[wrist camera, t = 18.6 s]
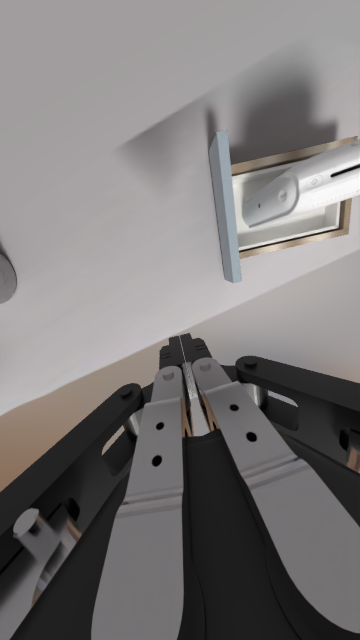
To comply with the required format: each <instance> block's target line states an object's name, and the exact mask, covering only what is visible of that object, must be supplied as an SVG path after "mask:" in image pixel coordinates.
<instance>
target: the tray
mask: <svg viewBox="0 0 360 640" xmlns="http://www.w3.org/2000/svg"><path fill="white" fill-rule="evenodd" d="M209 157H210V165H211V173H212V181H213V189H214V197H215V205H216V213H217V220H218V228H219V236H220V244H221V252H222V260H223V268H224V276H225V280H227V281H230V282H232V283H235V282H240V281H242V278H241V268H240V257H239V250H243V249H248V248H252V247H256V246H261V245H265V244H270V243H274V242H279V241H283V240H287V239H292V238H296V237H301V236H305V235H309V234H314V233H318V232H323V231H327V230H331V229H336V228H338V227H339V214H340V202H337V203H334V204H331V205H328V206H325V207H322V208H319V209H316V210H313V211H310V212H308V213H305V214H302V215H299V216H296V217H293V218H289V219H286V220H283V221H279V222H276V223H273V224H269V225H266V226H262V227H258V228H249V226H247V225H246V224H245V222H244V220H243V215H242V213H243V208H244V206H245V201H246V200H247V199H249V198H250V197H251V196H253V195H254V194H256V193H257V192H258V191H260V190H261V189H263V188H264V187H265V186H267V185H268V184H269V183H271V182H272V181H274V180H275V179H276V178H278V177H279V176H280V175H282V174H283V173H285V172H286V171H287V170H289V169H290V168H292V167H294V166H296V165H297V164H299V163H301V162H303V161H305V160H302V161H298V162H294V163H289V164H285V165H281V166H276V167H272V168H267V169H263V170H259V171H254V172H250V173H246V174H241V175H237V176H232V174H231V163H230V153H229V142H228V132H227V129H226V130H222V131H218V132H216V135H215V137H214V140H213V142H212V145H211V147H210V150H209Z"/></svg>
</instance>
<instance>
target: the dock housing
mask: <svg viewBox="0 0 360 640" xmlns="http://www.w3.org/2000/svg"><path fill="white" fill-rule="evenodd" d="M357 137H358V136H355V137H351V138H347V139H342V140H338V141H334V142H329V143H325V144H320V145H316V146H312V147H307V148H303V149H299V150H294V151H290V152H286V153H281V154H277V155H272V156H268V157H264V158H259V159H255V160H251V161H246V162H242V163H238V164H233V165H231V174H232V176H237V175H241V174H246V173H250V172H254V171H259V170H263V169H267V168H272V167H276V166H281V165H285V164H289V163H294V162H298V161H302V160H307V159H309V158H311V157H313V156H316V155H318V154H321V153H323V152H326V151H328V150H331V149H333V148H336V147H339V146H342V145H344V144H347V143H351V142H354V141H357ZM351 201H352V198H349V199H346V200H343V201H340V214H339V227H338V228H336V229H331V230H327V231H323V233H319V234H314V235H310V236H305V237H301V238H296V239H292V240H288V241H283V242H279V243H274V244H270V245H266V246H261V247H257V248H252V249H248V250H244V251H239V257H240V259H241V258H245V257H250V256H254V255H258V254H263V253H267V252H272V251H276V250H280V249H285V248H289V247H294V246H298V245H302V244H307V243H311V242H316V241H320V240H325V239H329V238H333V237H338V236H342V235H347V234H348V233H349V223H350V212H351Z"/></svg>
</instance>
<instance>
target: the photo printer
mask: <svg viewBox="0 0 360 640" xmlns="http://www.w3.org/2000/svg"><path fill="white" fill-rule="evenodd" d="M357 195H360V140H357V141H354V142H351V143H347V144H344V145H342V146H339V147H336V148H333V149H331V150H328V151H326V152H323V153H321V154H318V155H316V156H313V157H311V158H309V159H307V160H305V161H303V162H301V163H299V164H297V165H296V166H294V167H292V168H290V169H289V170H287V171H286V172H285V173H283V174H282V175H280V176H279V177H278V178H276V179H275V180H274V181H272V182H271V183H269V184H268V185H267V186H265V187H264V188H263V189H261V190H260V191H258V192H257V193H256V194H254V195H253V196H251V197H250V198H249V199H247V200H246V201H245V206H244V208H243V213H242V215H243V220H244V222H245V224H246V225H247V226H249V228H258V227H262V226H266V225H269V224H273V223H276V222H279V221H283V220H286V219H289V218H293V217H296V216H299V215H302V214H305V213H308V212H310V211H313V210H316V209H319V208H322V207H325V206H328V205H331V204H334V203H337V202H340V201H343V200H346V199H349V198H352V197H354V196H357Z"/></svg>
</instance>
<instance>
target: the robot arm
mask: <svg viewBox="0 0 360 640" xmlns="http://www.w3.org/2000/svg"><path fill="white" fill-rule="evenodd" d="M15 289H16V276H15V273H14V270H13V268H12V266H11V265H10V263H9V261H8V260H7V259H6V258H5V257H4V256H3V255H2V254H1V253H0V304H1V303H3V302H6V301H7V300H9V299H10V298H11V297H12V295H13V294H14V292H15ZM180 339H181V343H182V347H183V351H184V355H183V351H182V347H181V343H180ZM184 356H185V360H186V364H187V368H188V372H189V377H190V380H191V385H192V389H193V393H194V397H195V398H196V397H198V398H199V402H200V406H201V410H202V413H203V416H204V419H205V421H206V424H207V427H208V429H209V433H208V434H206V435H204V436H194V431H193V422H192V412H191V408H190V407H191V402H190V399H193V394H192V390H191V386H190V381H189V377H188V373H187V368H186V364H185V360H184ZM235 365H236V366H224V365H220V364H219V363H218V361H217V360H215V359H213V358H212V356H211V354H210V352H209V350H208V348H207V346H206V345H205V342H204V340H202V339H200V338H196V339H192V337H191V335H190V333H187V334H184V335H180V338H179V336H175V337H171V338H169V345H167V346H163V347H162V349H161V350H160V362H159V371H158V372H157V374H156V375H155V380H154V382H153V383H151V384H150V385H148V386H146V387H144V388H142V389H141V387H140V385H138V384H135V383H131V384H127V385H124V386H122V387H121V388H119V389H118V390H117V391H116V392H114V393H113V394H112V395H111V396H110V397H109V398H108V399H106V400H105V401H104V402H103V403H102V404H101V405H100V406H98V407H97V408H96V409H95V410H94V411H93V412H92V413H90V414H89V415H88V416H87V417H86V418H85V419H84V420H82V421H81V422H80V423H79V424H78V425H77V426H76V427H74V428H73V429H72V430H71V431H70V432H69V433H68V434H67V435H65V436H64V437H63V438H62V439H61V440H60V441H58V442H57V443H56V444H55V445H54V446H53V447H52V448H50V449H49V450H48V451H47V452H46V453H45V454H44V455H42V456H41V457H40V458H39V459H38V460H37V461H36V462H34V463H33V464H32V465H31V466H30V467H29V468H28V469H26V470H25V471H24V472H23V473H22V474H21V475H20V476H18V477H17V478H16V479H15V480H14V481H13V482H11V483H10V484H9V485H8V486H7V487H6V488H5V489H4V490H2V491H1V492H0V640H360V383H355V382H352V381H348V380H345V379H341V378H337V377H333V376H329V375H325V374H322V373H318V372H314V371H310V370H306V369H303V368H299V367H295V366H291V365H287V364H283V363H280V362H276V361H272V360H268V359H264V358H261V357H256V356H244V357H241V358H240V359H238V360H237V361H236V364H235ZM268 390H269V391H272V392H275V393H277V394H280V395H283V396H285V397H288V398H290V399H292V400H294V402H295V403H296V404H297V405H298V407H296V406H293V405H291V404H289V403H286V402H284V401H281V400H279V399H276V398H273V397H271V396H269V395H268ZM122 425H123V427H124V429H125V431H124V432H123V433H122V434H121V435H120V436H119V437H118V439H117V440H116V441H115V442H114V443H113V444H112V445H111V446H110V448H109V449H108V450H107V451H106V452H105V453H104V454H103V455H102V450H103V447H104V445H105V444H106V442H107V441H108V440H109V439H110V438H111V437H112V436H113V435H114V434H115V433H116V432H117V430H118V429H119V428H120V427H121V426H122Z"/></svg>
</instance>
